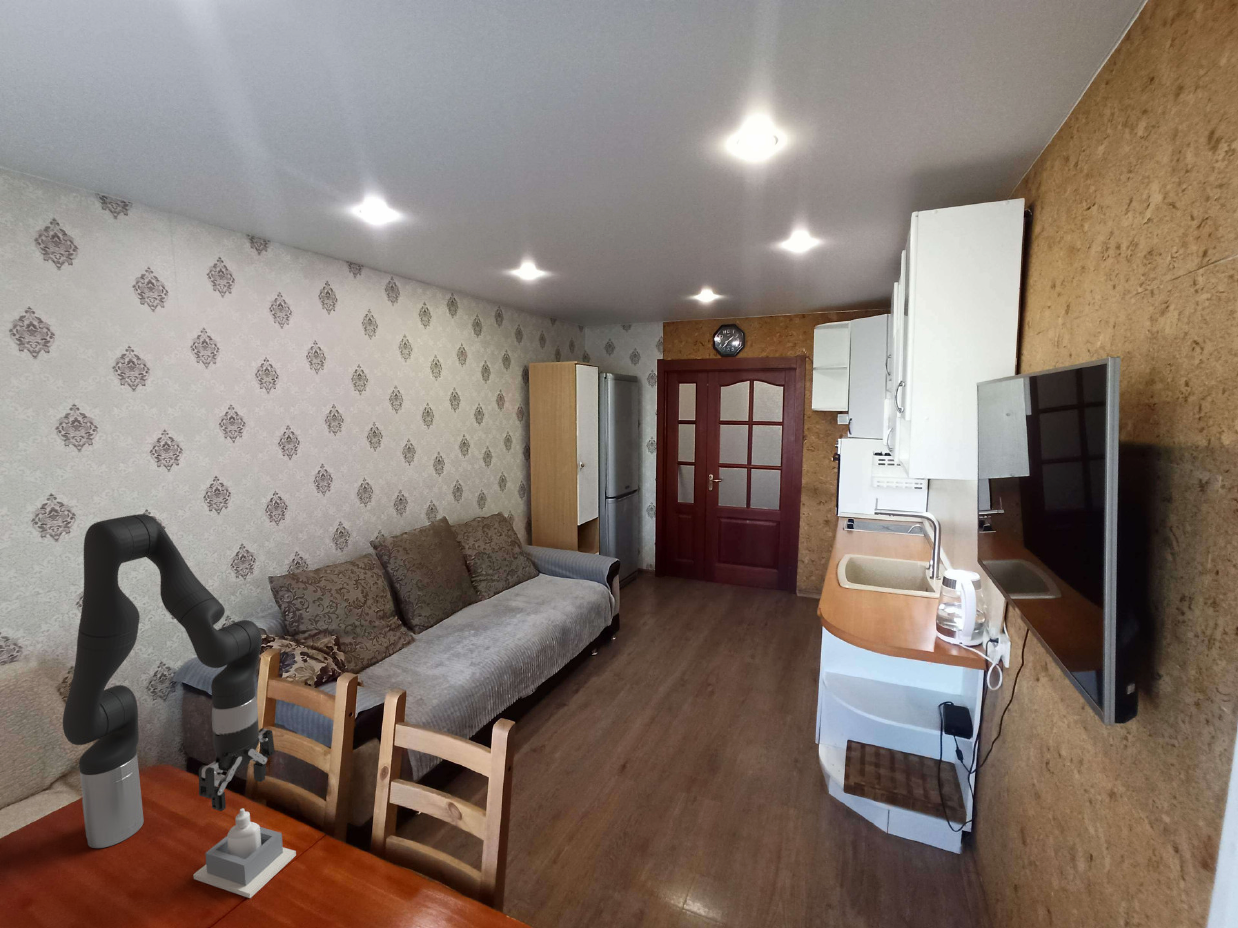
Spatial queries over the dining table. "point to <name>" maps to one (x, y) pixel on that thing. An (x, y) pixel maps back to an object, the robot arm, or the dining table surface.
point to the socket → (245, 865)
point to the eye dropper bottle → (243, 836)
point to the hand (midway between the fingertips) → (240, 794)
